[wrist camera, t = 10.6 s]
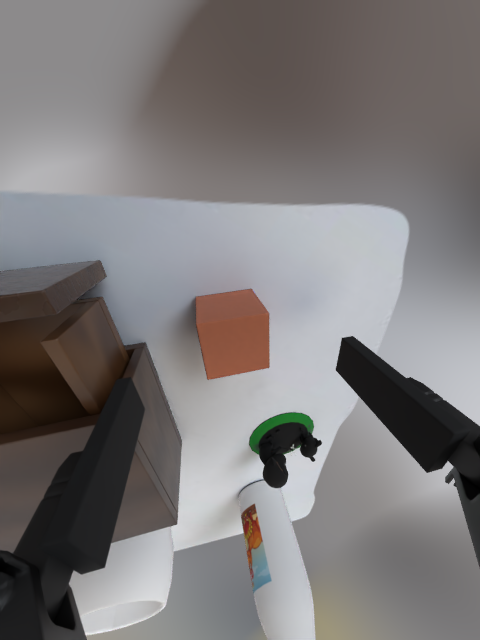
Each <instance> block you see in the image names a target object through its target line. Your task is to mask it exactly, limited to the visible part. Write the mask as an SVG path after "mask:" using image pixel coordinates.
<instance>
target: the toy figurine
mask: <svg viewBox="0 0 480 640" xmlns="http://www.w3.org/2000/svg"><path fill="white" fill-rule="evenodd" d="M313 428H314V425H313V421H312V420H311V418H310V417H309V416H307V415H304V414H302V413H286V414H281V415H278V416H275V417H273V418H270V419H269V420H267V421H265V422H264V423H262V424H261V425H260V426H259V427H258V428H257V429H256V430H255V431H254V432H253V434H252V436H251V437H250V444H249V445H250V447H251V449H252V451H254V452H255V453H257V454H259V456H260V459H261V461H262V462H263V464H264V465H265V466H264V470H263V478H264V480H265V482H266V483H267V484H268V485H269V486H270V487H272V488H281V487H282V486H284V485H285V484H286V482H287V479H288V471H287V469H286V458H285V456H284V455H283V454H286V453H289V452H292V451H293V450H295V449H297V448H299V447H300V446H301V447H300V451H301V454H302V455H303V456H305V457H309V458H310V459H311V461H312V462H314V461H315V459H314V457H312V456H314V455H315V454H316V452H317V447H318V446H320V445H321V444H322V442H321V440H319V441H318V440H317V439H316V438H313V436H312V431H313ZM294 454H295V453H294ZM291 455H292V453H291ZM295 455H296V454H295Z"/></svg>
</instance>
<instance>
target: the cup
mask: <svg viewBox="0 0 480 640" xmlns="http://www.w3.org/2000/svg"><path fill="white" fill-rule="evenodd" d="M173 547H174V546H173V539H172V533H171V526H170V527H167V528H163V529H160V530H156V531H153V532H149V533H146V534H142V535H139V536H135V537H132V538H128V539H125V540H121V541H118V542H114V543H111V546H110V550H109V554H108V558H107V561H106V565H105V568H103V569H99V570H96V571H93V572H89V573H86V574H82V575H81V574H79V573H77V572H76V571H74V570H73V573H72V576H71V579H70V582H69V585H70V587H71V588H72V591H73V595H74V598H75V601H76V605H77V608H78V612H79V615H80V618H81V622H82V625H83V629H84V632H85V635H93V634H98V633H102V632H108V631H113V630H116V629H120V628H123V627H126V626H130V625H133V624H135V623H137V622H140V621H143V620H145V619H148V618H150V617H152V616H153V615H155V614H157V613H159V612H160V611H161V610H162V609H163V608H164V607H165V606H166V602H167V598H168V593H169V589H170V585H171V580H172V567H173Z"/></svg>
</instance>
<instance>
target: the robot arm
mask: <svg viewBox="0 0 480 640" xmlns="http://www.w3.org/2000/svg"><path fill="white" fill-rule="evenodd" d="M336 371H337V372H338V373H339V374H340V375H341V377H342V378H343V379H344V380H345V381H346V382H347V383H348V384H349V386H350V387H351V388H352V389H353V390H354V391H355V392H356V393H357V395H358V396H359V397H360V398H361V399H362V400H363V401H364V402H365V404H366V405H367V406H368V407H369V408H370V409H371V410H372V411H373V412H374V414H375V415H376V416H377V417H378V418H379V419H380V420H381V422H382V423H383V424H384V425H385V426H386V427H387V428H388V429H389V431H390V432H391V433H392V434H393V435H394V436H395V437H396V438H397V440H398V441H399V442H400V443H401V444H402V445H403V446H404V448H405V449H406V450H407V451H408V452H409V453H410V454H411V455H412V456H413V458H414V459H415V460H416V461H417V462H418V463H419V464H420V466H421V467H422V468H423V469H424V470H425V471H426V472H427V473H428V472H432V471H435V470H438V469H442V468H443V466H444V465H445V464H446V462H447V461H449V462H450V463H451V464H452V465H453V466H454V467H453V469H452V470H451V471H450V472H449V474H448V475H447V476H446V478H445V482H446V483H448V484H449V483H450V482H451V481H452V479H453V478H454V480H455V483H454V486H456V487H457V490H458V493H459V497H460V500H461V504H462V508H463V511H464V514H465V518H466V522H467V525H468V529H469V532H470V535H471V539H472V542H473V546H474V550H475V553H476V557H477V560H478V563H479V567H480V426H478V425H477V424H476V423H475V422H473V421H472V420H471V419H469V418H468V417H467V416H465V415H464V414H463V413H461V412H460V411H459V410H457V409H456V408H455V407H453V406H452V405H451V404H449V403H448V402H447V401H445V400H443V398H441V397H440V396H439V395H438V394H435V393H434V392H433V391H432V390H431V389H429V388H428V387H427V386H425V385H424V384H423V383H421V382H419V381H417V380H414V379H413V378H411V377H410V378H405V377H404V376H403V375H401V374H400V373H399V372H397V371H396V370H395V369H394V368H393V367H391V366H390V365H389V364H387V363H386V362H385V361H384V360H382V359H381V358H380V357H379V356H377V355H376V354H375V353H374V352H372V351H371V350H370V349H368V348H367V347H366V346H365V345H363V344H362V343H361V342H360V341H358V340H357V339H356V338H355V337H353V336H351V337H345V338H342V341H341V346H340V351H339V356H338V361H337V366H336ZM144 413H145V407H144V405H143V403H142V400H141V398H140V396H139V394H138V391H137V389H136V387H135V385H134V383H133V380H132V378H131V377H127V378H122V379H117V380H116V382H115V384H114V386H113V388H112V390H111V393H110V395H109V397H108V399H107V401H106V403H105V405H104V407H103V410H102V412H101V414H100V416H99V418H98V420H97V422H96V424H95V426H94V429H93V431H92V433H91V435H90V437H89V439H88V441H87V443H86V445H85V448H84V450H83V451H79V452H74V453H71V454H70V455H69V456H68V457H67V459H66V460H65V461H64V462H63V463H62V464H61V466H60V467H59V468H58V470H57V472H56V474H55V476H54V478H53V479H52V481H51V485H50V486H49V487H48V489H47V491H46V493H45V494H44V498H43V499H42V500H41V502H40V504H39V506H38V507H37V509H36V511H35V513H34V515H33V517H32V519H31V521H30V522H29V524H28V526H27V528H26V530H25V532H24V534H23V535H22V537H21V539H20V541H19V543H18V545H17V547H16V549H15V550H14V552H13V553H11V552H9V551H4V550H0V640H87V639H86V635H85V632H84V629H83V625H82V622H81V618H80V615H79V612H78V608H77V605H76V601H75V598H74V595H73V591H72V588H71V587H70V585H69V582H70V579H71V576H72V573H73V570H74V571H76V572H77V573H79V574H81V575H82V574H86V573H89V572H93V571H96V570H99V569H103V568H105V565H106V561H107V558H108V554H109V550H110V546H111V542H112V538H113V534H114V530H115V526H116V522H117V518H118V514H119V511H120V507H121V503H122V499H123V495H124V491H125V487H126V483H127V479H128V475H129V471H130V468H131V464H132V460H133V456H134V452H135V448H136V444H137V440H138V436H139V432H140V428H141V425H142V421H143V417H144Z"/></svg>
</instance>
